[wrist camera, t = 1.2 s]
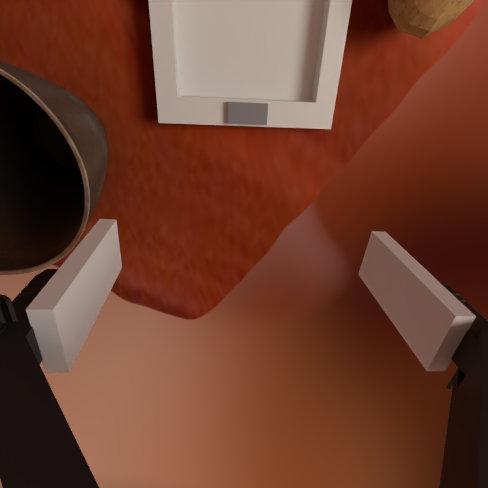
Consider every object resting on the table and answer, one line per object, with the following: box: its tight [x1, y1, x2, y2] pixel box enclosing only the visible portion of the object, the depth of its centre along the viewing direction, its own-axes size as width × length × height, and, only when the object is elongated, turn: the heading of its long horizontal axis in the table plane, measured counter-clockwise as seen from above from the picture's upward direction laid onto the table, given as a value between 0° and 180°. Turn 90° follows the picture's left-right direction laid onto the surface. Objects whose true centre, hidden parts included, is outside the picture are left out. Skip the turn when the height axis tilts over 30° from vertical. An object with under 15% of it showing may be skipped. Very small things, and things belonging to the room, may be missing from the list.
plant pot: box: [0, 62, 108, 275], centre depth 27 cm, size 15×15×16 cm
